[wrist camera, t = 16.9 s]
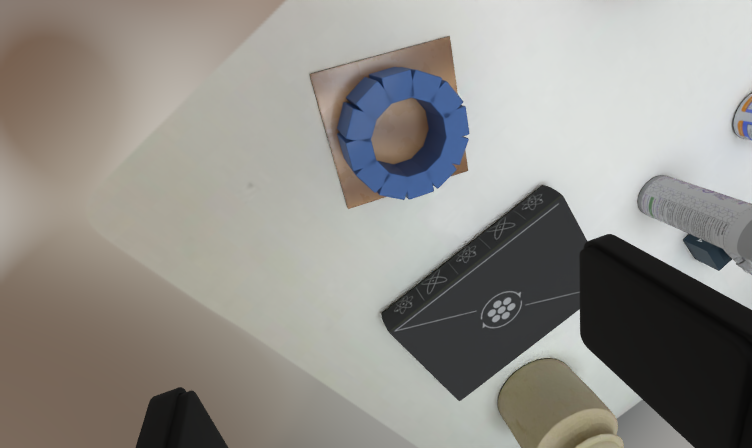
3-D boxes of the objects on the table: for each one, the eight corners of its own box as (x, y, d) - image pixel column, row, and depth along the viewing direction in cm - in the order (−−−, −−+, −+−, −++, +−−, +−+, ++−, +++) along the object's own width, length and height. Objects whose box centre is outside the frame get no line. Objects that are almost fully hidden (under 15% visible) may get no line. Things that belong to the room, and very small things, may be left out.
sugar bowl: (593, 398, 59) (690, 501, 46) (532, 445, 60) (610, 560, 47) (549, 342, 53) (648, 444, 39) (481, 397, 53) (555, 515, 40)
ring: (323, 87, 34) (331, 92, 30) (438, 53, 35) (458, 55, 31) (355, 198, 38) (365, 214, 35) (456, 165, 39) (475, 177, 36)
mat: (309, 73, 33) (309, 74, 33) (448, 36, 35) (449, 36, 35) (347, 207, 39) (348, 209, 38) (466, 169, 40) (468, 170, 40)
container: (674, 169, 47) (840, 220, 33) (671, 206, 49) (826, 268, 36) (638, 182, 46) (792, 240, 33) (636, 219, 48) (780, 287, 35)
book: (542, 182, 43) (561, 191, 40) (592, 272, 50) (611, 285, 47) (378, 312, 44) (386, 330, 42) (449, 383, 51) (459, 402, 48)
